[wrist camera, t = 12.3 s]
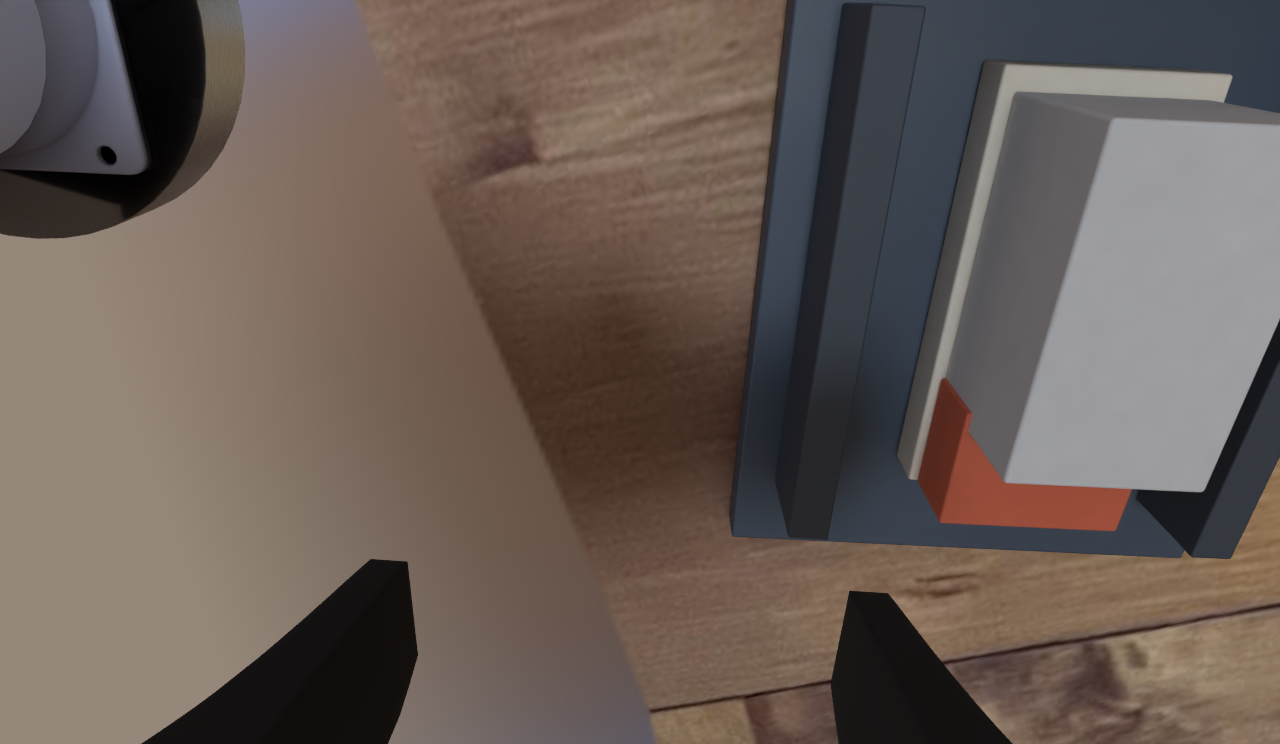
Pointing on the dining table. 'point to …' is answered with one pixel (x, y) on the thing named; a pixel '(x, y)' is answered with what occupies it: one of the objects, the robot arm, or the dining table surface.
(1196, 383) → the white box
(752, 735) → the dining table surface
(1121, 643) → the dining table surface
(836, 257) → the dark grey flat tray
